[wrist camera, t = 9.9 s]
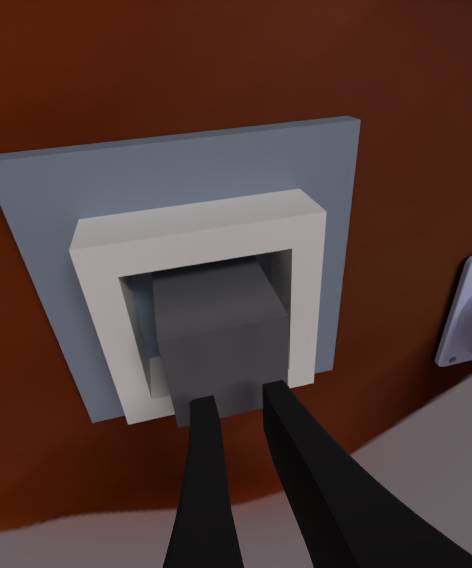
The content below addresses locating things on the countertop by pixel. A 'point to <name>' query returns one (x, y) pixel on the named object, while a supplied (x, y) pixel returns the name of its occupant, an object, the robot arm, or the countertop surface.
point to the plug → (219, 334)
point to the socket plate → (180, 241)
